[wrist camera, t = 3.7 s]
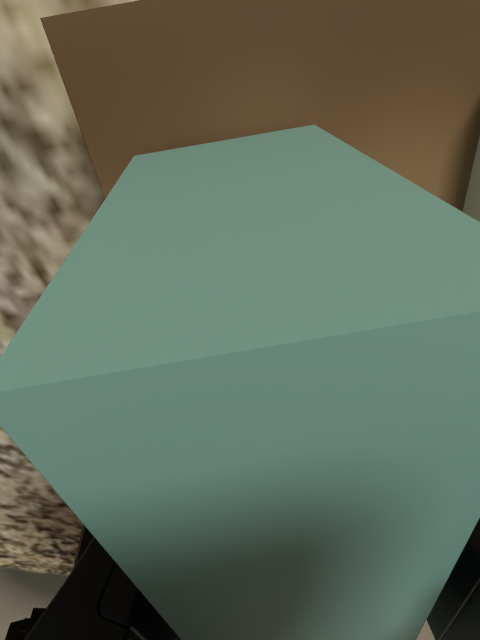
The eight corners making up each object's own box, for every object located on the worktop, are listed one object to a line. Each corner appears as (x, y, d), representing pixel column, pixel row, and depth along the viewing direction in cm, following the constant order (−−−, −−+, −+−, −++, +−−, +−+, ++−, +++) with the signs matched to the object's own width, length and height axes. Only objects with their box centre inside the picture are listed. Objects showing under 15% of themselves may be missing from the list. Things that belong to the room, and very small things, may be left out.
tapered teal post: (320, 448, 15) (392, 683, 9) (224, 463, 15) (239, 708, 9) (314, 124, 8) (597, 291, 2) (134, 155, 8) (-24, 394, 2)
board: (550, 381, 19) (602, 429, 17) (210, 438, 19) (211, 492, 17) (802, -100, 9) (1027, -159, 7) (82, 28, 9) (40, 18, 7)
